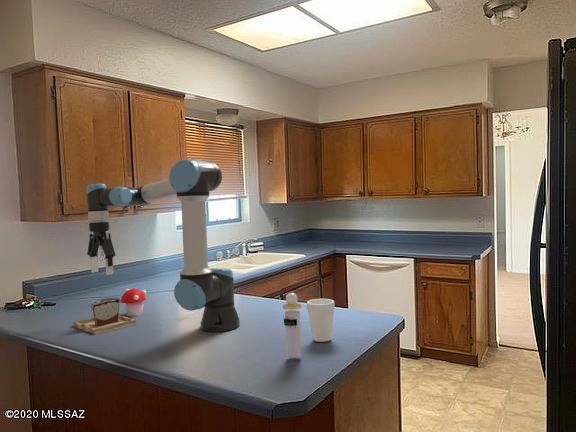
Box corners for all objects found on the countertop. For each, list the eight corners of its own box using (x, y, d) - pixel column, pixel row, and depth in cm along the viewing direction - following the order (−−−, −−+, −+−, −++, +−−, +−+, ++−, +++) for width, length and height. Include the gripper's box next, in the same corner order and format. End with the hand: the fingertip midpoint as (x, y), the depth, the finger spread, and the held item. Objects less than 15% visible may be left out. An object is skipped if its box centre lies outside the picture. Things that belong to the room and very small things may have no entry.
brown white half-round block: (114, 319, 192) (113, 296, 192) (122, 321, 188) (120, 297, 188) (86, 326, 182) (84, 301, 182) (93, 328, 178) (91, 303, 178)
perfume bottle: (288, 353, 142) (286, 290, 141) (306, 354, 140) (303, 291, 139) (282, 359, 136) (279, 294, 136) (299, 361, 134) (297, 295, 134)
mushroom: (151, 314, 201) (150, 287, 200) (128, 319, 193) (127, 292, 192) (139, 310, 208) (138, 285, 208) (116, 316, 200) (115, 289, 200)
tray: (135, 324, 185) (135, 319, 185) (95, 334, 172) (94, 329, 172) (113, 317, 198) (112, 313, 198) (73, 326, 186) (73, 321, 186)
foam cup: (315, 344, 149) (314, 306, 149) (304, 337, 158) (302, 300, 157) (340, 340, 153) (339, 302, 152) (327, 333, 161) (326, 297, 161)
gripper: (122, 220, 178) (125, 273, 179) (94, 221, 195) (97, 270, 195) (103, 222, 172) (107, 276, 173) (76, 222, 189) (80, 272, 190)
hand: (102, 273), depth 184 cm, fingers open, 13 cm apart
